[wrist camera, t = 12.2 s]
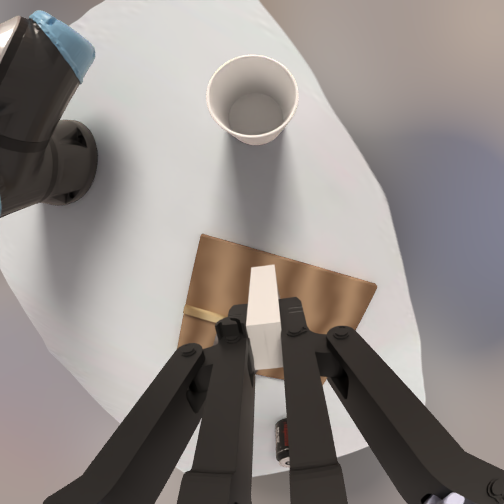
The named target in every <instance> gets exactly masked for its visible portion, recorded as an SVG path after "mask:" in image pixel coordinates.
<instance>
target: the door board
mask: <svg viewBox="0 0 504 504" xmlns="http://www.w3.org/2000/svg"><path fill="white" fill-rule="evenodd" d="M267 265H275V272H276V280H277V287H278V290H279V293H280V299H283V298H290V297H297V298H298V299H299V300H301V303H302V307H303V311H304V315H305V319H306V323H307V327H308V328H309V330H310V331H312V332H314V333H318V334H327V332H328V331H329V330H330V329H331V328H333V327H335V326H349V327H351V328H353V329H354V330H356V328H357V326H358V324H359V323H360V321H361V319H362V317H363V315H364V313H365V311H366V309H367V307H368V305H369V303H370V301H371V299H372V297H373V295H374V293H375V291H376V289H377V285H376V284H375V283H371V282H368V281H364V280H361V279H358V278H354V277H351V276H347V275H344V274H340V273H337V272H333V271H330V270H327V269H323V268H320V267H316V266H313V265H309V264H306V263H302V262H299V261H295V260H292V259H288V258H285V257H281V256H278V255H275V254H271V253H268V252H264V251H261V250H257V249H254V248H250V247H247V246H243V245H240V244H236V243H233V242H229V241H226V240H222V239H219V238H215V237H212V236H208V235H205V234H202V235H201V237H200V241H199V245H198V250H197V254H196V258H195V263H194V267H193V272H192V276H191V281H190V286H189V290H188V295H187V300H186V305H185V307H184V311H183V313H184V315H183V320H182V325H181V331H180V336H179V342H178V347H177V349H178V348H179V347H180V346H182V345H184V344H188V343H197V344H199V345H201V346H202V349H205V348H208V347H211V346H214V345H216V344H218V337H217V333H216V329H215V324H216V323H217V322H218V321H219V320H221V319H223V318H226V317H228V312H229V310H230V308H231V307H232V306H233V305H238V304H247V303H248V298H249V287H250V277H251V268H252V267H259V266H267ZM256 374H258V375H263V376H268V377H273V378H278V379H283V380H284V370H283V367H280V368H271V369H261V370H258V372H257V373H256ZM320 377H321V382H322V385H323V384H324V382H325V381H326V379H327V377H322V376H320Z"/></svg>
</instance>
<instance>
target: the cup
mask: <svg viewBox="0 0 504 504" xmlns="http://www.w3.org/2000/svg"><path fill="white" fill-rule="evenodd" d="M206 100H207V106H208V109H209V112H210V114H211V116H212V117H213V119H214V120H215V122H216V123H217V124H218V125H219V126H220V127H221V128H222V129H224V130H225V131H227V132H228V133H229V134H231V135H232V136H234V137H235V138H237V139H238V140H240V141H241V142H243V143H246V144H249V145H263V144H266V143H269V142H271V141H272V140H274V139H275V138H276V137H277V136H278V135H279V134H280V133H281V131H282V130H283V129H284V128H285V126H286V125H287V124H288V123H289V121H290V120H291V119H292V117H293V115H294V114H295V111H296V109H297V105H298V88H297V84H296V82H295V79H294V77H293V76H292V74H291V73H290V72H289V70H288V69H287V68H286V67H285V66H283V65H282V64H281V63H279V62H278V61H276V60H274V59H272V58H269V57H266V56H261V55H244V56H240V57H236V58H234V59H231V60H229V61H228V62H226V63H224V64H223V65H222V66H221V67H220V68H218V69H217V71H216V72H215V73H214V74H213V76H212V78H211V79H210V82H209V84H208V88H207V94H206Z"/></svg>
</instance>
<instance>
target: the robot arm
mask: <svg viewBox="0 0 504 504" xmlns="http://www.w3.org/2000/svg"><path fill="white" fill-rule="evenodd" d="M94 59H95V49H94V47H93V46H92V44H91V43H90V42H89V41H87V40H86V39H85V38H84V37H83V36H81V35H80V34H79V33H77V32H76V31H75V30H73V29H72V28H71V27H69V26H68V25H66V24H65V23H63V22H61V21H60V20H57V19H56V18H54V17H52V16H51V15H50V14H48V13H46V12H44V11H40V10H38V11H35V12H34V13H33V14H32V15H30V17H29V19H26V18H23V17H20V16H16V17H14V18H12V19H10V20H8V21H6V22H4V23H1V24H0V218H1V217H3V216H6V215H8V214H11V213H13V212H16V211H18V210H21V209H23V208H26V207H29V206H31V205H34V204H37V203H45V204H51V205H57V206H60V205H66V204H69V203H72V202H75V201H77V200H79V199H80V198H81V197H82V196H84V194H85V193H86V192H87V191H88V189H89V188H90V186H91V184H92V182H93V180H94V177H95V173H96V169H97V148H96V143H95V140H94V138H93V135H92V134H91V132H90V130H89V129H88V128H87V127H86V126H85V125H84V124H82V123H80V122H78V121H74V120H60V118H61V116H62V115H63V113H64V111H65V109H66V107H67V105H68V103H69V102H70V100H71V98H72V96H73V95H74V93H75V91H76V90H77V88H78V86H79V85H80V84H82V82H83V78H84V76H85V74H86V72H87V71H88V69H89V67H90V66H91V64H92V63H93V61H94ZM59 120H60V121H59ZM215 329H216V333H217V337H218V344H216V345H214V346H211V347H208V348H205V349H202V346H201V345H199V344H197V343H188V344H184V345H182V346H180V347H179V348H178V349H177V350H176V351H175V352H174V354H173V355H172V356H171V358H170V359H169V360H168V362H167V363H166V364H165V366H164V367H163V368H162V370H161V371H160V372H159V374H158V375H157V376H156V378H155V379H154V380H153V382H152V383H151V384H150V386H149V387H148V388H147V390H146V391H145V392H144V394H143V395H142V396H141V398H140V399H139V400H138V402H137V403H136V404H135V406H134V407H133V408H132V410H131V411H130V412H129V414H128V415H127V416H126V418H125V419H124V420H123V422H122V423H121V424H120V426H119V427H118V428H117V430H116V431H115V432H114V433H113V435H112V436H111V437H110V439H109V440H108V441H107V443H106V444H105V445H104V447H103V448H102V450H101V451H100V452H99V453H98V455H97V456H96V457H95V459H94V460H93V461H92V463H91V464H90V465H89V467H88V468H87V470H86V471H85V472H84V474H83V475H82V476H81V477H79V478H77V479H76V480H75V481H73V482H71V483H70V484H68V485H67V486H65V487H64V488H62V489H61V490H59V491H57V492H56V493H54V494H53V495H51V496H49V497H48V498H46V500H44V502H43V504H155V502H156V500H157V498H158V496H159V495H160V493H161V491H162V489H163V488H164V486H165V484H166V482H167V481H168V479H169V477H170V475H171V473H172V471H173V470H174V468H175V466H176V464H177V463H178V461H179V459H180V457H181V455H182V454H183V452H184V450H185V448H186V446H187V444H188V442H189V441H190V439H191V437H192V435H193V433H194V431H195V429H196V427H197V426H198V424H199V422H200V420H201V418H202V421H201V425H200V430H199V435H198V440H197V445H196V450H195V455H194V460H193V465H192V469H191V470H190V471H187V472H185V474H184V475H183V478H182V481H181V486H180V491H179V496H178V500H177V504H252V502H251V479H252V456H253V429H254V401H255V374H254V367H255V370H261V369H271V368H280V367H283V370H284V384H285V398H286V412H287V427H288V444H289V462H290V498H291V504H348V502H347V496H346V491H345V484H344V479H343V473H342V469H341V466H340V464H339V463H338V461H337V457H336V451H335V446H334V441H333V435H332V430H331V425H330V420H329V415H328V410H327V405H326V401H325V396H324V391H323V386H322V382H321V377H320V376H322V377H327V380H328V382H329V383H330V385H331V387H332V388H333V390H334V391H335V393H336V395H337V396H338V398H339V399H340V401H341V402H342V404H343V406H344V407H345V409H346V410H347V412H348V413H349V415H350V417H351V418H352V420H353V421H354V423H355V424H356V426H357V428H358V429H359V431H360V432H361V434H362V435H363V437H364V439H365V440H366V442H367V443H368V445H369V446H370V448H371V450H372V451H373V453H374V454H375V456H376V457H377V459H378V460H379V462H380V464H381V465H382V467H383V468H384V470H385V471H386V473H387V475H388V476H389V478H390V479H391V481H392V482H393V484H394V485H395V487H396V489H397V490H398V492H399V493H400V495H401V496H402V497H403V499H404V500H405V501H406V502H407V503H408V504H504V470H502V469H500V468H498V467H495V466H493V465H491V464H489V463H487V462H485V461H483V460H481V459H479V458H477V457H475V456H473V455H471V454H469V453H467V452H465V451H464V450H463V449H462V448H461V447H460V445H459V444H458V443H457V442H456V441H455V440H454V439H453V437H452V436H451V435H450V434H449V433H448V432H447V430H446V429H445V428H444V427H443V426H442V425H441V424H440V423H439V421H438V420H437V419H436V418H435V417H434V416H433V415H432V414H431V412H430V411H429V410H428V409H427V408H426V407H425V406H424V405H423V403H422V402H421V401H420V400H419V399H418V398H417V397H416V396H415V395H414V393H413V392H412V391H411V390H410V389H409V388H408V387H407V386H406V385H405V384H404V382H403V381H402V380H401V379H400V378H399V377H398V376H397V375H396V374H395V373H394V372H393V370H392V369H391V368H390V367H389V366H388V365H387V364H386V363H385V362H384V361H383V360H382V359H381V357H380V356H379V355H378V354H377V353H376V352H375V351H374V350H373V349H372V348H371V347H370V346H369V345H368V344H367V342H366V341H365V340H364V339H363V338H362V337H361V336H360V335H359V334H358V333H357V332H356V331H355V330H354V329H353V328H351V327H349V326H335V327H333V328H331V329H330V330H329V331H328V332H327V334H318V333H314V332H312V331H310V330H309V328H308V327H307V323H306V319H305V315H304V311H303V307H302V303H301V300H299V299H298V298H297V297H290V298H283V299H279V295H278V287H277V280H276V272H275V265H267V266H259V267H252V268H251V277H250V287H249V298H248V303H247V304H238V305H233V306H232V307H231V308H230V310H229V312H228V317H226V318H223V319H221V320H219V321H218V322H217V323H216V324H215Z"/></svg>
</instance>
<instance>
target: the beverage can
mask: <svg viewBox="0 0 504 504" xmlns="http://www.w3.org/2000/svg"><path fill="white" fill-rule="evenodd" d="M275 429H276V459H277V460H278V461H279V464H280V465H281V466H283V467H290V462H289V444H288V427H287V418H285V419H282V420H280V421H279V422H278V423H277V424H276V428H275Z"/></svg>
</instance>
